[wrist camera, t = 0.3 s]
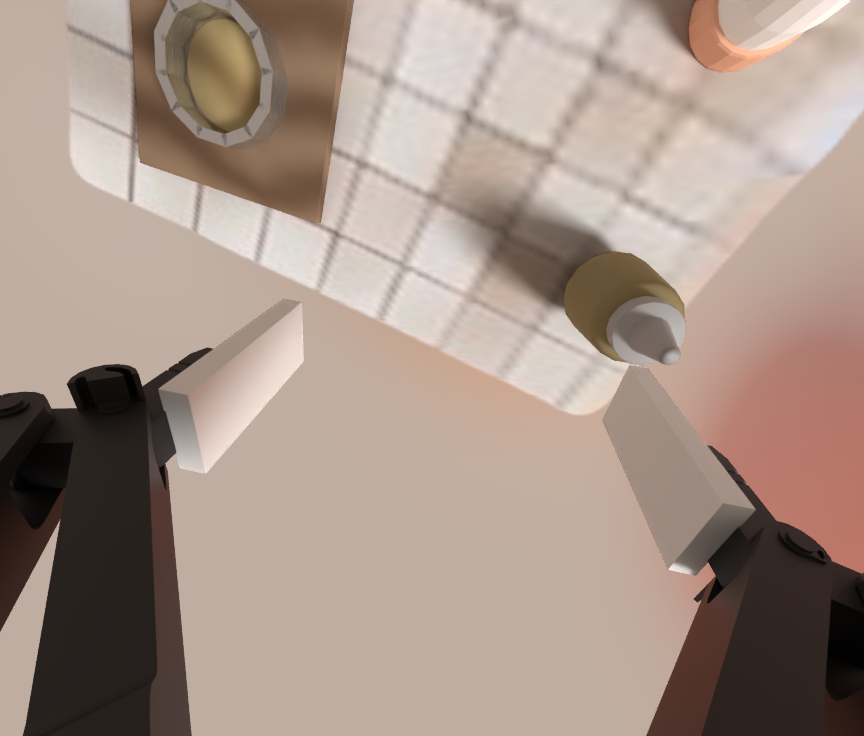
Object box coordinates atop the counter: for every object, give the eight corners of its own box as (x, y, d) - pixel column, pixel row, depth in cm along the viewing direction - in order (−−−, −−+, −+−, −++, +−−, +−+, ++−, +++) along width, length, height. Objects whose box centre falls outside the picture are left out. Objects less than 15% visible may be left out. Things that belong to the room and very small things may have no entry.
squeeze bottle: (541, 290, 39) (567, 358, 23) (604, 228, 36) (687, 256, 20) (595, 340, 40) (655, 436, 24) (661, 283, 37) (782, 353, 21)
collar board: (136, -94, 32) (93, -128, 28) (357, -22, 31) (339, -48, 28) (149, 163, 41) (118, 160, 37) (320, 222, 40) (304, 225, 37)
